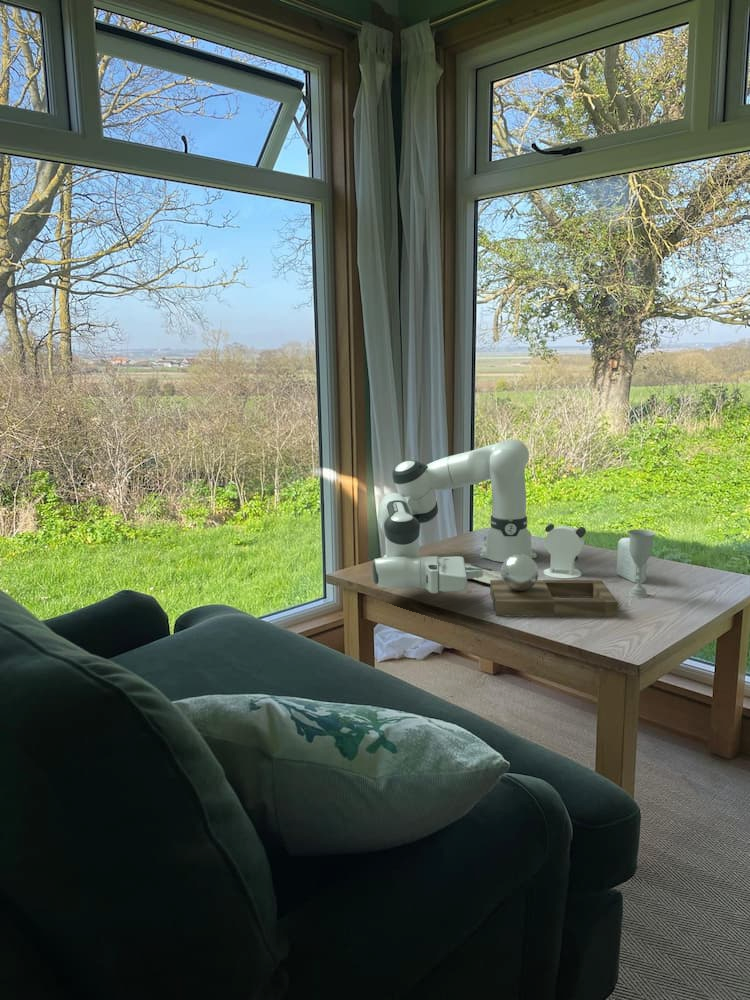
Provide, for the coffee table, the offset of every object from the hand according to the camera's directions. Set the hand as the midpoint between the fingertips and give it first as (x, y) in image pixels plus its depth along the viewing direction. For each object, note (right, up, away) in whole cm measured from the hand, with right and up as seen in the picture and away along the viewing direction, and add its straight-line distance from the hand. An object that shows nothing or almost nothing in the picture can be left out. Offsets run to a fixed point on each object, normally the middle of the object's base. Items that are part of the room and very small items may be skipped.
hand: (482, 572), depth 194 cm
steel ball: (+10, 0, -1) cm, 10 cm away
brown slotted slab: (+18, -9, 0) cm, 20 cm away
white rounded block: (+48, -4, +21) cm, 52 cm away
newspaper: (+1, -4, +28) cm, 28 cm away
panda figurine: (+29, -3, +27) cm, 40 cm away
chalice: (+45, -7, +6) cm, 46 cm away
